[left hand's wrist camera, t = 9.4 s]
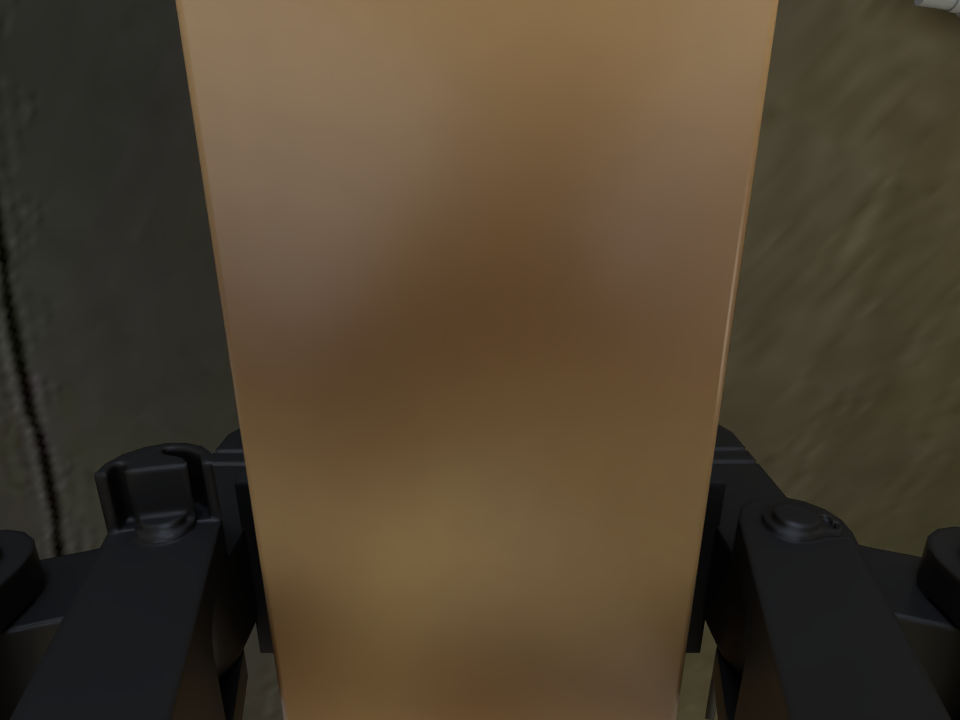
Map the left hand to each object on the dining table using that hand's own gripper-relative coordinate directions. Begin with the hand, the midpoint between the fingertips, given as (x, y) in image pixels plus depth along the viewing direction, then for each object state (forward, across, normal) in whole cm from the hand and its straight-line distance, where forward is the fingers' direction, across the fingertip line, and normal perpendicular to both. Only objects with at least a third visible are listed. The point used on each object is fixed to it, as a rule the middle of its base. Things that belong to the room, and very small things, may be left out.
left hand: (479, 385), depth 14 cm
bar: (+1, 0, -18) cm, 18 cm away
